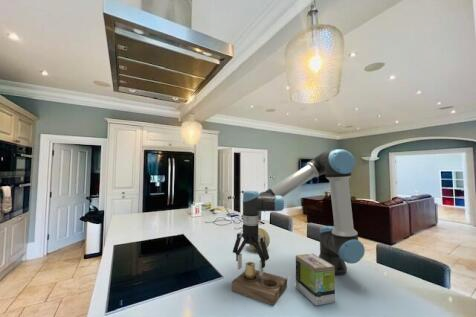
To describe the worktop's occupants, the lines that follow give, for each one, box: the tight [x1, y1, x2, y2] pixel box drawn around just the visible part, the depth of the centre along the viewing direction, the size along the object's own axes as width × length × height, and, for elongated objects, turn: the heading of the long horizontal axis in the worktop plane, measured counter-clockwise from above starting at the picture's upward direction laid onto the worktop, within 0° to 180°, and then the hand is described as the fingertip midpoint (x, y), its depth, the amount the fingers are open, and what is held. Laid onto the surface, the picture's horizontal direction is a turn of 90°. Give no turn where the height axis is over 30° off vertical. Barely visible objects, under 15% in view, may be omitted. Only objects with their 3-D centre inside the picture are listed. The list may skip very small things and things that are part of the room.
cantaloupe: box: [248, 227, 271, 251], centre depth 146 cm, size 15×15×15 cm
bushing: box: [245, 261, 256, 280], centre depth 101 cm, size 4×4×10 cm
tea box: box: [295, 253, 336, 306], centre depth 95 cm, size 15×10×15 cm, turn 17°
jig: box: [231, 269, 288, 306], centre depth 98 cm, size 16×20×4 cm
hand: (250, 271), depth 101 cm, fingers open, 11 cm apart
